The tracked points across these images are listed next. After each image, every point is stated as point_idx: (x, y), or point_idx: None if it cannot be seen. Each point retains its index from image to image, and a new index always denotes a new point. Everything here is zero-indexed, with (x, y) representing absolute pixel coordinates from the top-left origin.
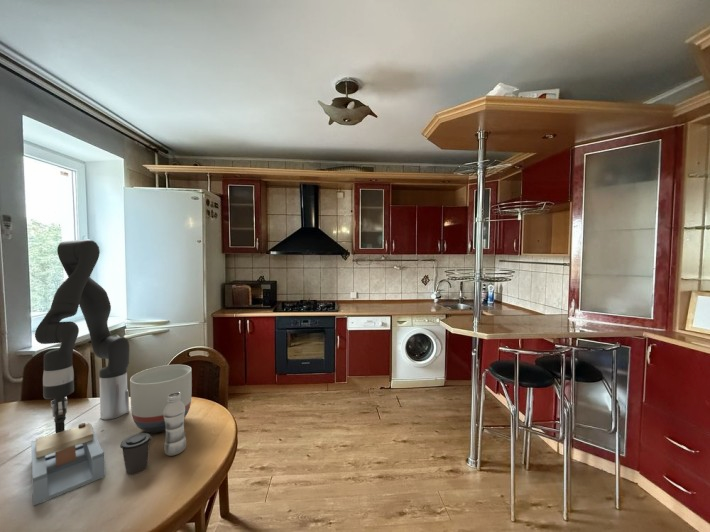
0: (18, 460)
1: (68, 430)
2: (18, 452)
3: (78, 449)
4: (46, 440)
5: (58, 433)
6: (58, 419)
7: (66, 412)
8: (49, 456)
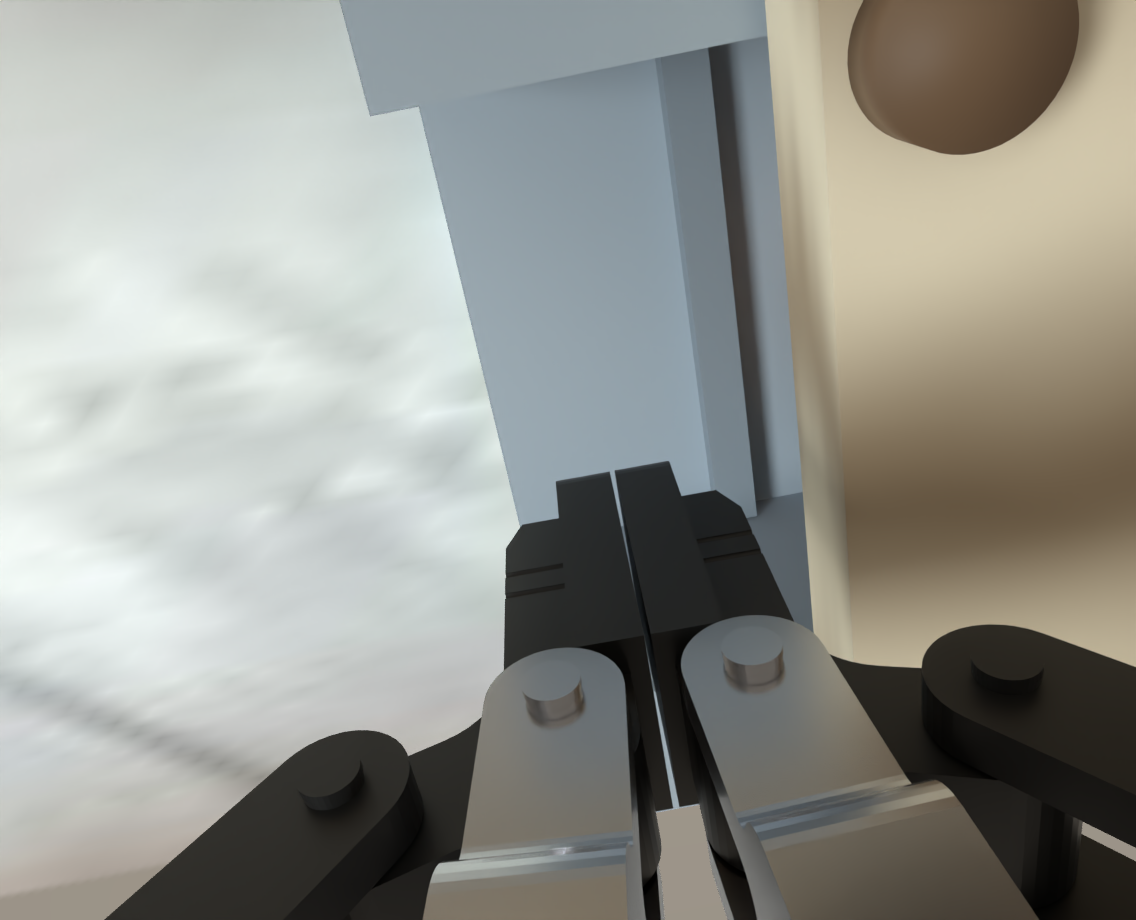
0: (425, 735)
1: (906, 375)
2: (192, 779)
3: (722, 100)
4: None
5: (913, 554)
6: (1074, 848)
7: (947, 801)
8: (739, 469)
